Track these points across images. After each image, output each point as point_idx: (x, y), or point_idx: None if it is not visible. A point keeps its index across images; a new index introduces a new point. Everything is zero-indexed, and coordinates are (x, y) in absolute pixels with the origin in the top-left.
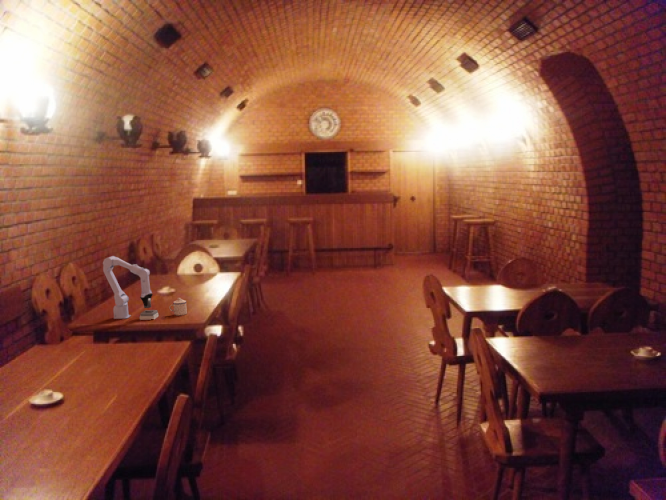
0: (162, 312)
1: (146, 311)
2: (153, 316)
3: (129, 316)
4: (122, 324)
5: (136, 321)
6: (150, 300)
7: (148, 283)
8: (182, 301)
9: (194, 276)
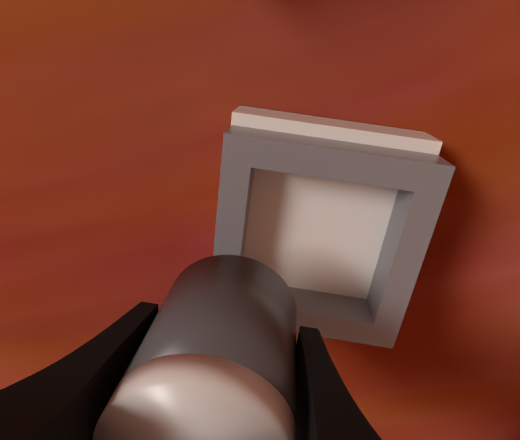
0: (38, 96)
1: None
2: (439, 143)
3: None
4: (511, 423)
5: (437, 323)
6: (206, 347)
7: None
8: None
9: None
